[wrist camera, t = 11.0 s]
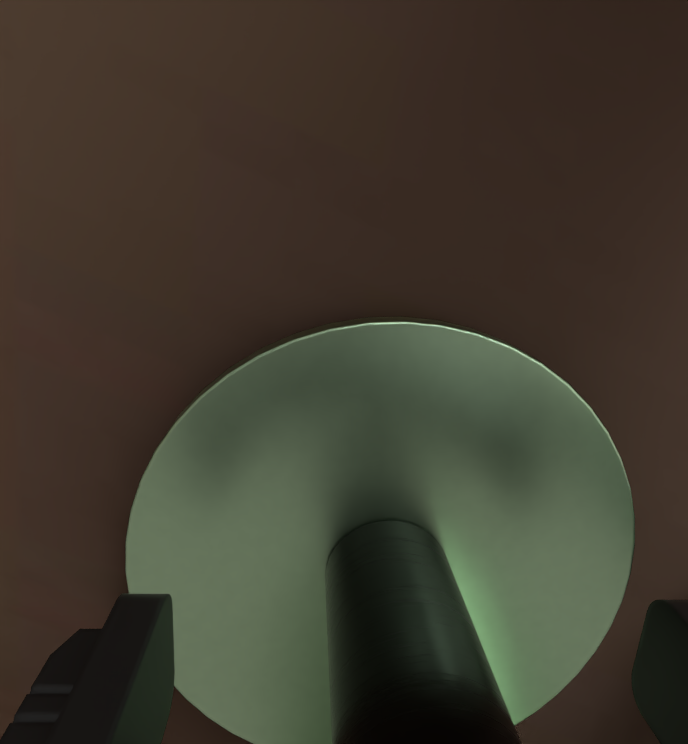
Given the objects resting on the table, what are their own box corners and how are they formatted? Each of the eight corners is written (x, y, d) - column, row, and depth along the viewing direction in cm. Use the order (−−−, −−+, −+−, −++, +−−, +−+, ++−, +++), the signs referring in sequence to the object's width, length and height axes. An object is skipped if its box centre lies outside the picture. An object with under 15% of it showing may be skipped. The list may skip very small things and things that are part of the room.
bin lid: (69, 376, 12) (-204, 557, 6) (588, 258, 12) (904, 307, 6) (216, 765, 15) (150, 1159, 9) (624, 673, 15) (850, 1002, 9)
